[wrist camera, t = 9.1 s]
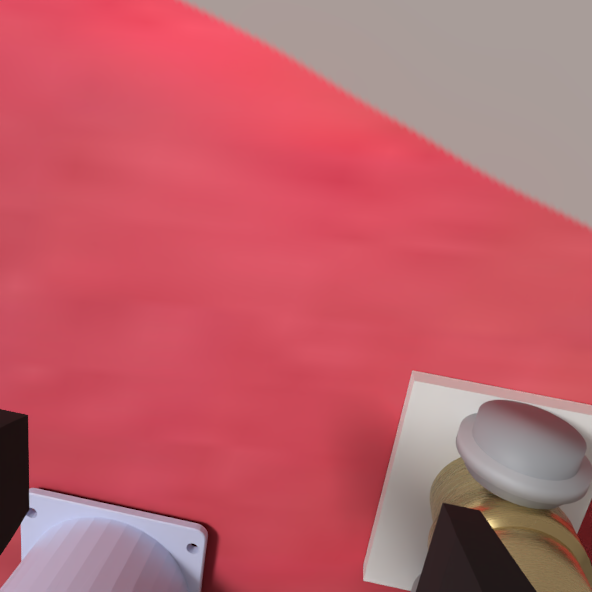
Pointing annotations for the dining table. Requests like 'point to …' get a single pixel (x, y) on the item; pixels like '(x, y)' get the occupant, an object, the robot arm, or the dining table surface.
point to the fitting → (475, 463)
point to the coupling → (520, 531)
